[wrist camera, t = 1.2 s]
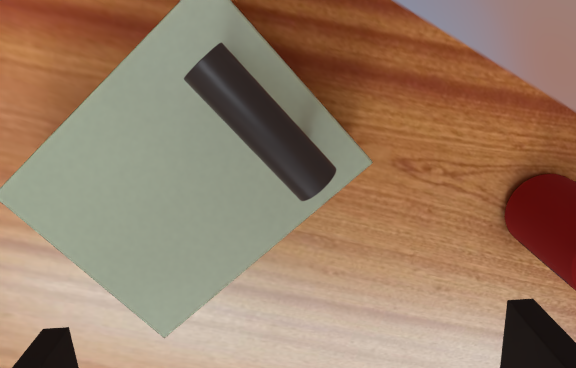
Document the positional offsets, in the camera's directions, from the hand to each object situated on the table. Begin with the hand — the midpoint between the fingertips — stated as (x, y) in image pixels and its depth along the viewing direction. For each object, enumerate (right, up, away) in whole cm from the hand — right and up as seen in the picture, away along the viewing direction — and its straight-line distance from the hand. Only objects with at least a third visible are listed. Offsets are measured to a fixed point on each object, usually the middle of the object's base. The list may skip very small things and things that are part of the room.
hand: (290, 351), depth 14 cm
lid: (-7, +6, +18) cm, 20 cm away
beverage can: (+22, +3, +27) cm, 35 cm away
